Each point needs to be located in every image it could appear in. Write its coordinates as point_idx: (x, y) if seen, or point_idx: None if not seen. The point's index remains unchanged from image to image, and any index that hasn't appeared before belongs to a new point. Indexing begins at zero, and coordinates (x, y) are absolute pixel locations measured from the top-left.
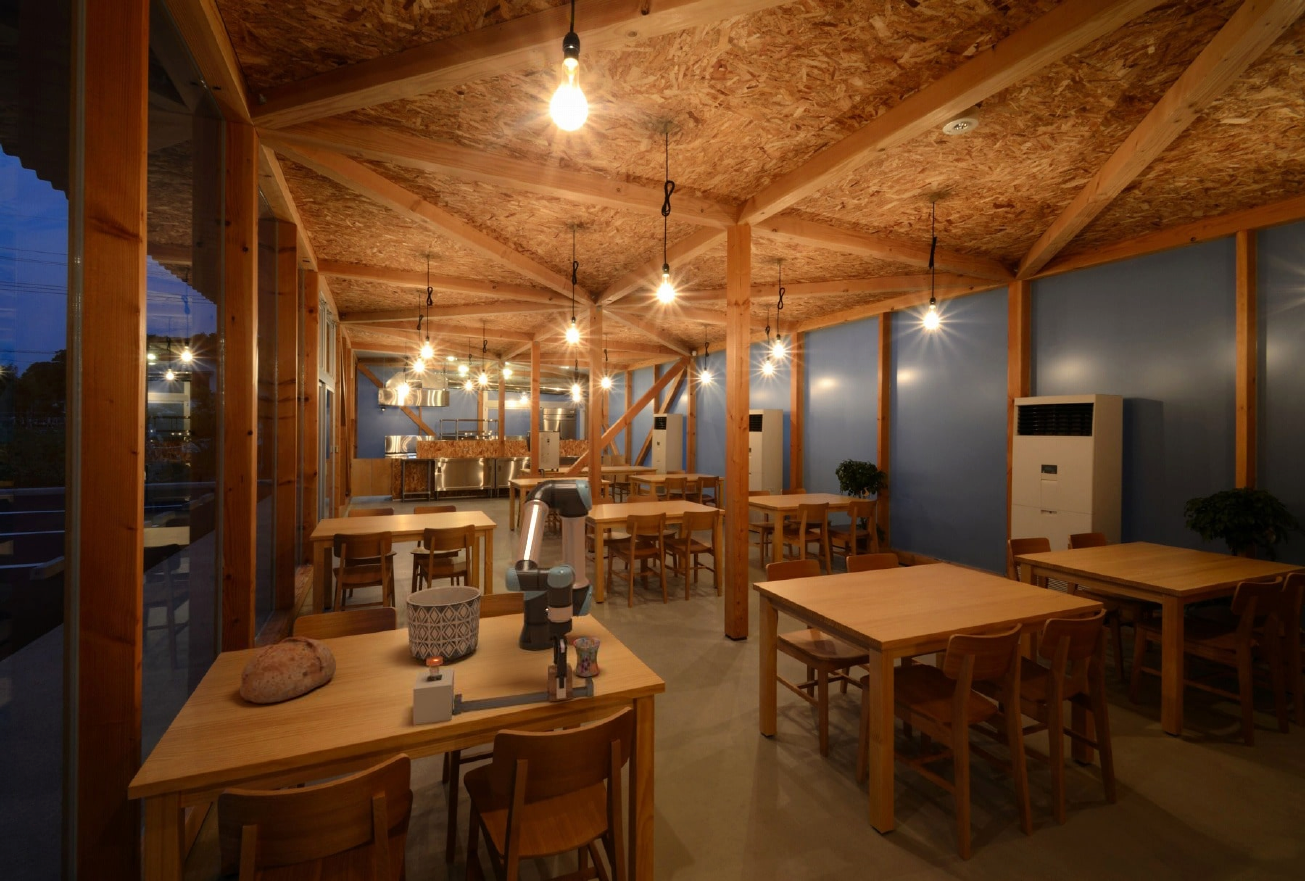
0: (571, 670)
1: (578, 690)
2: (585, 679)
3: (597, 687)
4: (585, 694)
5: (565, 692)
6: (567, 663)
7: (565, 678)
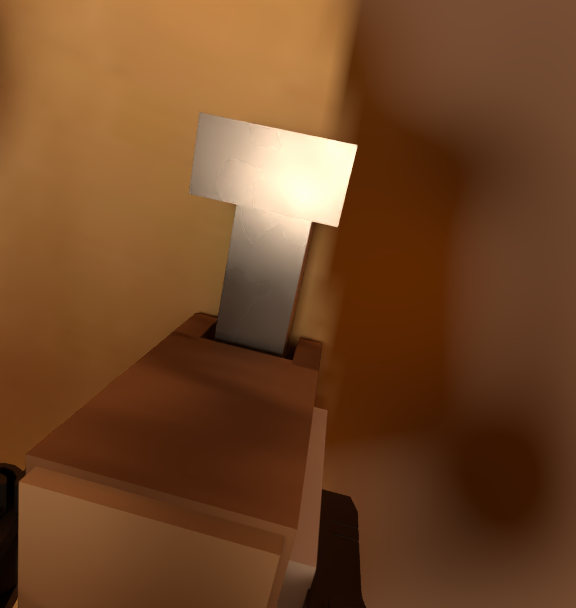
0: (289, 542)
1: (294, 296)
2: (210, 198)
3: (202, 51)
4: (313, 225)
5: (324, 438)
6: (26, 518)
7: (316, 546)
